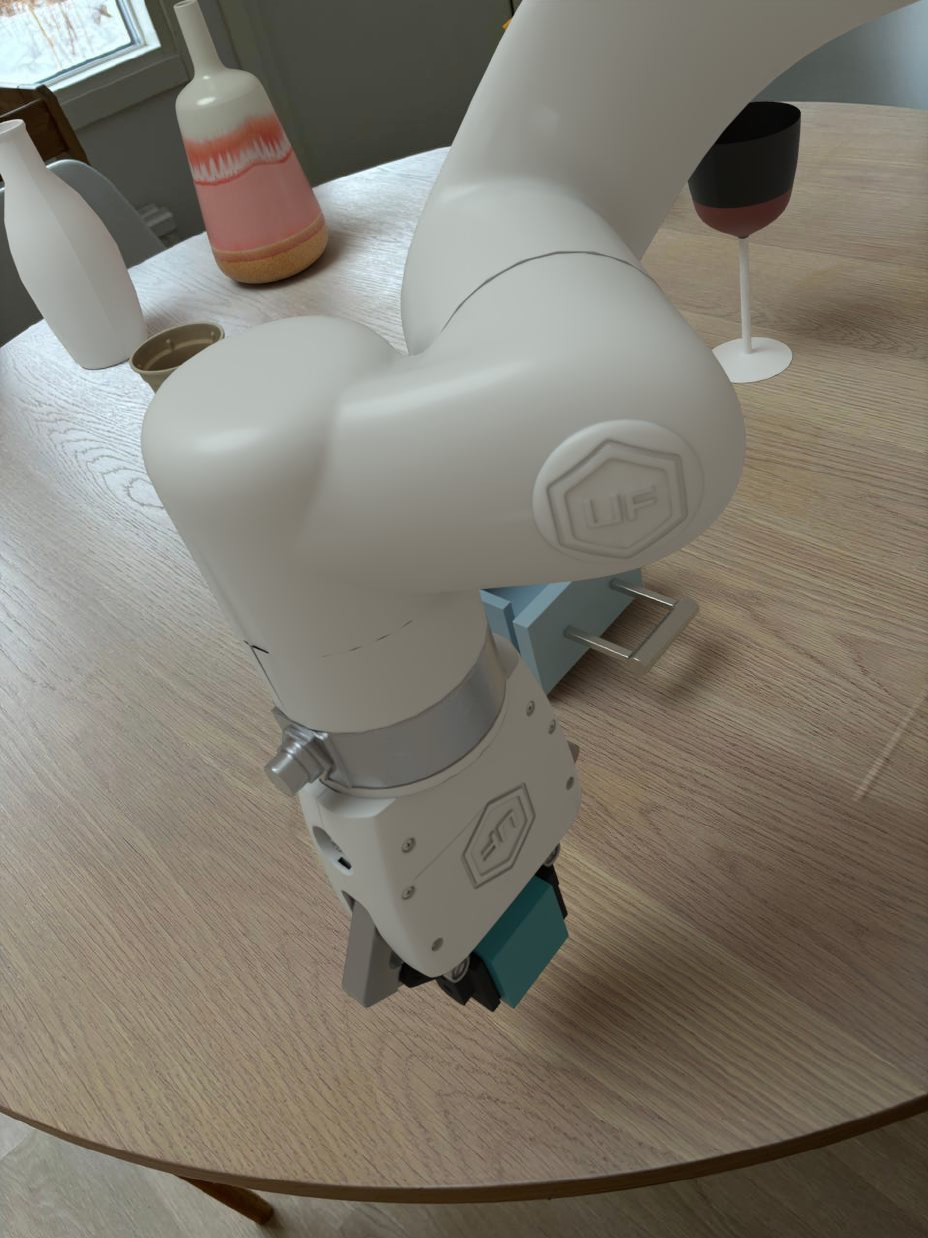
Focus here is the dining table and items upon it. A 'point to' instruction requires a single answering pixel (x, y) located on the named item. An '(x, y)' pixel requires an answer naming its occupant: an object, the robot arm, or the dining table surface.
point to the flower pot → (172, 350)
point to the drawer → (580, 622)
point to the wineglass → (749, 212)
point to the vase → (244, 168)
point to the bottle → (67, 258)
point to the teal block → (523, 940)
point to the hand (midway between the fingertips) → (505, 945)
